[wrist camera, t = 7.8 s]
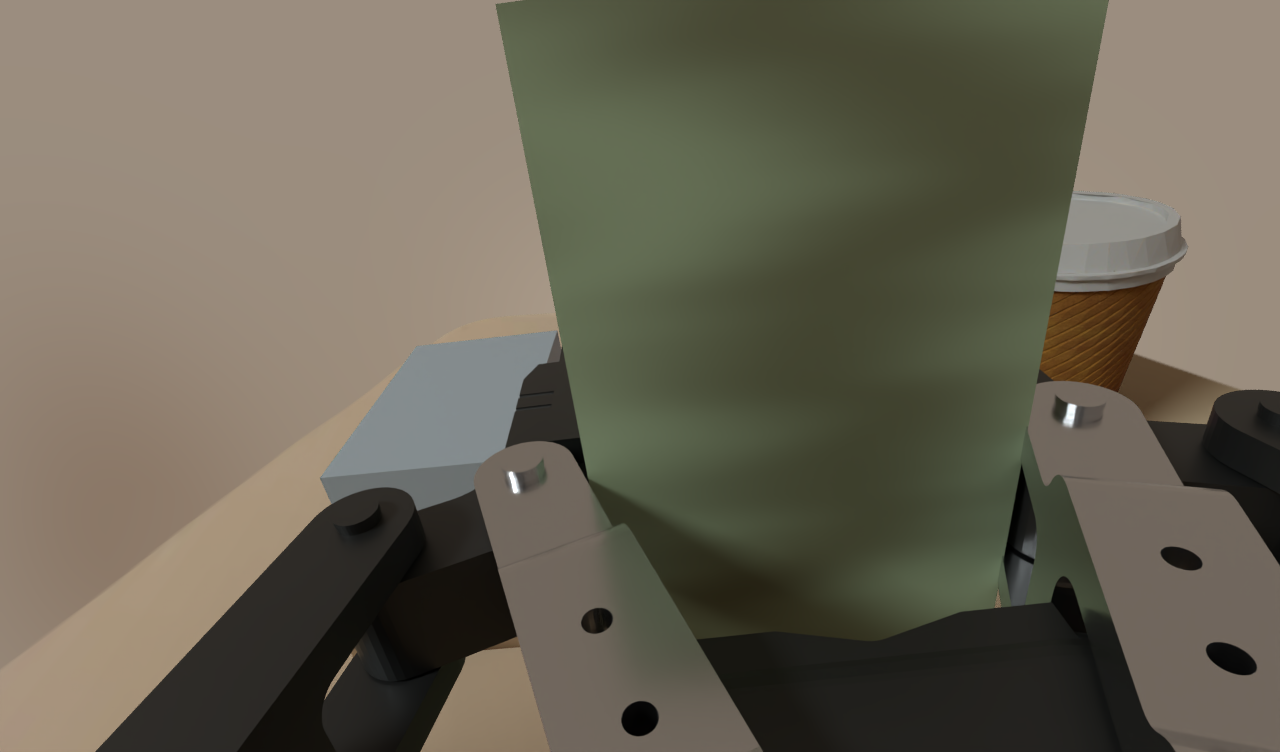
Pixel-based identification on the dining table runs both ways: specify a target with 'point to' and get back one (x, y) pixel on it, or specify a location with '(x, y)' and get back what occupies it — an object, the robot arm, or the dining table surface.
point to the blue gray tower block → (440, 418)
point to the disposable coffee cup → (1107, 284)
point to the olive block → (805, 284)
